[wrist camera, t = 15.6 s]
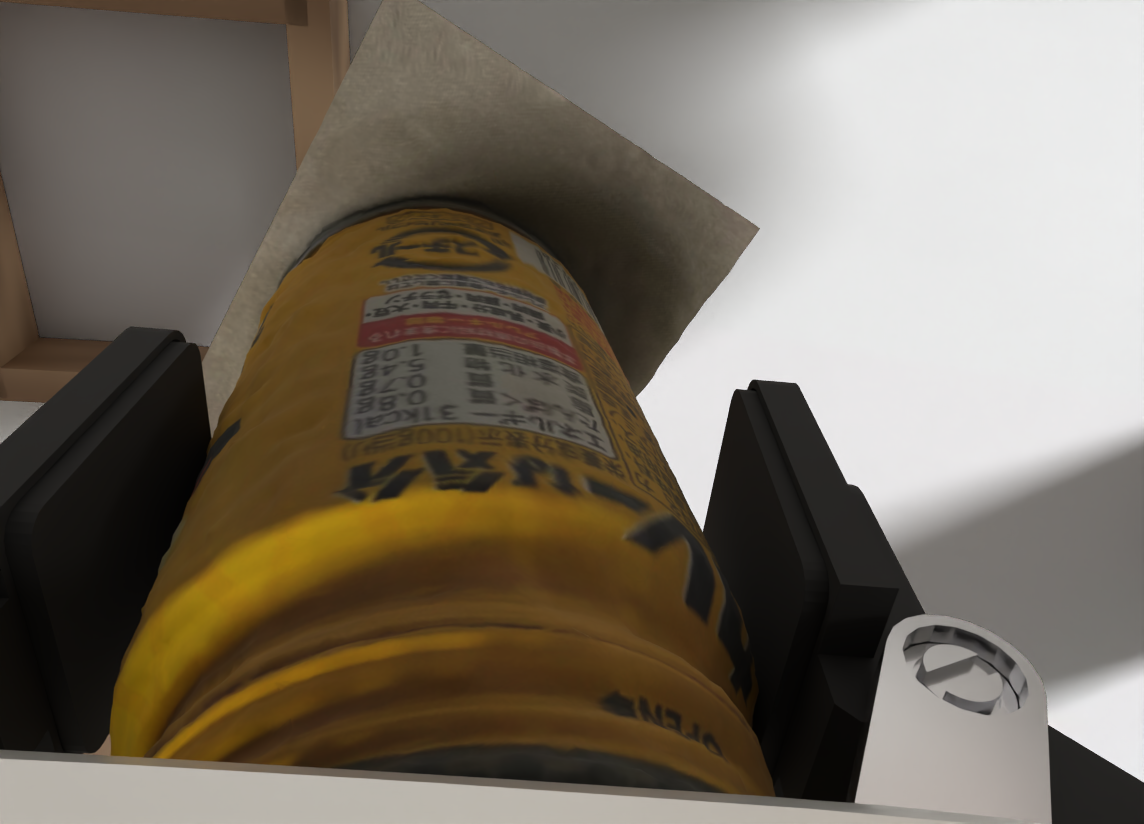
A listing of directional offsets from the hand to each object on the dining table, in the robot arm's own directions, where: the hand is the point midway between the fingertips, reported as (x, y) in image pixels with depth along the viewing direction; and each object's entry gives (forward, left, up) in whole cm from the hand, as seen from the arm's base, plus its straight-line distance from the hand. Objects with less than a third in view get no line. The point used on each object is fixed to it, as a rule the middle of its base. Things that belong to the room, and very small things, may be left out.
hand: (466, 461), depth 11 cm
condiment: (0, 0, -5) cm, 5 cm away
